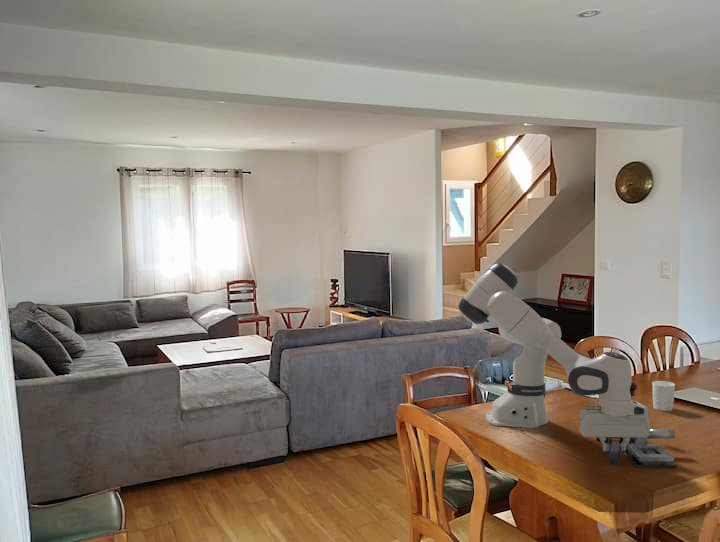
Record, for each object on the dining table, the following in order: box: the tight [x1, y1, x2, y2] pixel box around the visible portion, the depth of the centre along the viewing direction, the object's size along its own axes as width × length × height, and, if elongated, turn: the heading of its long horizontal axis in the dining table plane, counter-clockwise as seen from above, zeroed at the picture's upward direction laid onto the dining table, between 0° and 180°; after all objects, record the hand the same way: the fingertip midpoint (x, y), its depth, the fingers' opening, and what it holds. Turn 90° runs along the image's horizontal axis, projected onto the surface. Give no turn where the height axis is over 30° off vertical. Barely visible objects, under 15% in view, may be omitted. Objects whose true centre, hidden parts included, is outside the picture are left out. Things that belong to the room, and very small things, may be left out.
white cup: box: [651, 380, 676, 412], centre depth 232 cm, size 8×8×10 cm
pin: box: [607, 437, 621, 465], centre depth 181 cm, size 3×3×8 cm
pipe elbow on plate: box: [620, 405, 678, 469], centre depth 184 cm, size 16×16×15 cm
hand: (614, 450), depth 182 cm, fingers closed on pin, 3 cm apart
